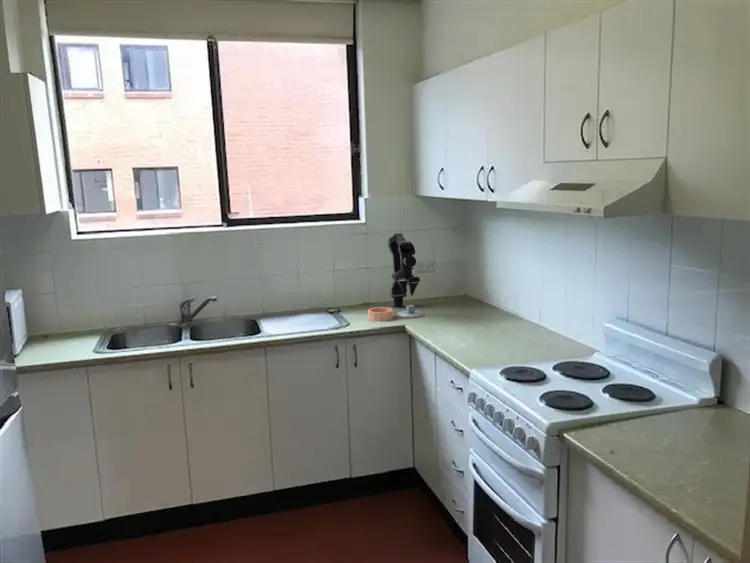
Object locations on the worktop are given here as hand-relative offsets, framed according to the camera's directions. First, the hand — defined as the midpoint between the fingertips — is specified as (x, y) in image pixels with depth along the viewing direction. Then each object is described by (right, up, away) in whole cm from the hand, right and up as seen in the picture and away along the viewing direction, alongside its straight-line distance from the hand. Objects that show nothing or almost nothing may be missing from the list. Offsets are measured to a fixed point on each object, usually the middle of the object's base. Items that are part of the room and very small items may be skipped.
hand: (407, 294), depth 337 cm
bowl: (-14, -13, -1) cm, 19 cm away
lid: (+2, -11, +4) cm, 12 cm away
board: (+2, -12, +4) cm, 12 cm away
